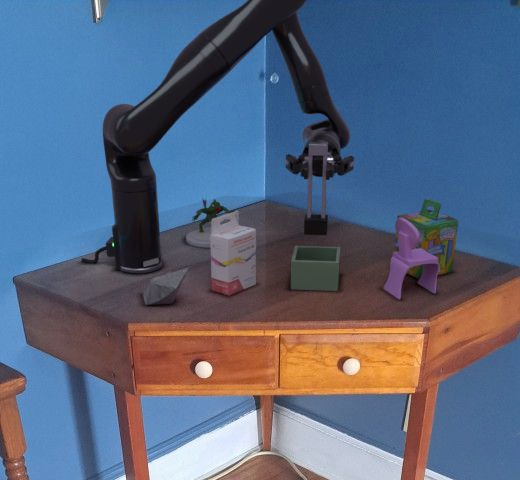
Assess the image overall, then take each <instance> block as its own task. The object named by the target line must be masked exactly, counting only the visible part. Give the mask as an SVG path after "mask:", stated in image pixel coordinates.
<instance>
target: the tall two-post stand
mask: <svg viewBox="0 0 520 480" xmlns="http://www.w3.org/2000/svg"><path fill="white" fill-rule="evenodd" d="M327 153H328V142H310V143H309V158H308V179H307V204H306V205H307V207H306V212H307V213H306V214H304V219H303V235H304V236H327V235H328V229H329V215H328V214H326V208H327V207H326V205H327V182H328V180H326V166H327ZM313 155H315V156H323V177H321V178H322V180H321V182H322V184H321V210H320V211H321V212H320V213H321V214H312V213H313V212H312V211H313V210H312V207H313V175H312V174H313Z"/></svg>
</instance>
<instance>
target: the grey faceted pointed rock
mask: <svg viewBox="0 0 520 480" xmlns="http://www.w3.org/2000/svg"><path fill="white" fill-rule="evenodd" d="M189 269H190V267H186V268H181V269H179V270H176V271H173V270H169V271H166V273H165V274H163V275H159V276H155V277H153V278H151V279H150V280H149V283H148V284H147V286H146V287H145V289H144V292H143V293H142V296H143V301H144V305H145V306H154V305H155V306H156V305H170V304H172V303H173V302H174V301H175V298H176V297H177V294H178V292H179V290H180V288H181V286H182V284H183V281H184V279H186V278H185V277H186V275H187V273H188V272H189Z"/></svg>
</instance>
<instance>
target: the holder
mask: <svg viewBox="0 0 520 480" xmlns="http://www.w3.org/2000/svg"><path fill="white" fill-rule="evenodd" d="M341 251H342V247H341V246H319V245H318V246H317V245H316V246H315V245H314V246H313V245H295V246H294V248H293V253H292V256H291V259H290V289H291V290H298V291H299V290H301V291H325V292H338V291H339V284H340V271H341Z"/></svg>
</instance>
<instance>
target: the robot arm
mask: <svg viewBox="0 0 520 480" xmlns="http://www.w3.org/2000/svg"><path fill="white" fill-rule="evenodd" d="M307 1H308V0H247V1H245V2H244V3H242V5H240V6H239V7H237V8H236V9H234V10H232V11H230V12H229V13H227V14H226V15H224V16H222V17H221V18H219V19H218V20H216V21H215V22H213V23H212V24H210V25H209V26H207V27H206V28H204V29H203V30H202V31H200V33H198V34H197V35H196V36H195V37H194V38H193V39H192V40H191V41H190V42H189V43H188V44H187V45H186V46H185V47H184V48H183V49H181V51H180V52H179V53H178V55H177V56H176V58H175V59H174V61H173V63H172V65H171V66H170V68H169V70H168V71H167V73H166V75H165V76H164V79H162V81H161V83H160V84H159V85H158V86H157V87H156V88H155V89H154V90H153V91H152V92H151V93H149V94H148V95H147V96H146V97H145V98H144V99H143V100H141V101H140V102H138V103H137V104H136V105H133V104H131V103H119V104H115V105H114V106H112V107H111V108H110V109H109V110H108V111H107V112H106V114H105V116H104V118H103V121H102V141H103V150H104V155H105V156H104V158H105V165H106V166H105V167H106V170H107V174H108V177H109V179H110V187H111V199H112V206H113V207H112V209H113V220H114V224H113V225H112V227H111V232H112V236H110V238H109V239H108V240H107V241H106V242H105V246H102V247H100V248H98V249H97V250H96V251H95V252H94V259H89V258H85V257H81V262H82V263H86V264H91V265H92V264H96V263H97V262H99V259H100V254H101V253H102V252H105V251H106V257H107V258H114V264H115V270H116V271H121V272H124V273H126V274H127V273H128V274H147V273H152V272H155V271H158V270H160V269H161V268H162V267H163V258H162V245H161V231H160V217H159V216H160V214H159V200H158V188H157V187H158V185H157V184H158V183H157V175H156V172H155V170H154V167H153V165H152V163H151V159H150V152H151V151H152V150H153V149H154V148H155V147H156V146H157V145H158V143H160V142H161V140H162V139H163V138H164V137H165V135H166V134H167V133H168V132H169V131H170V130H171V128H173V126H174V125H175V124H176V123H177V122H178V121H179V119H180V118H181V117H182V116H183V115H184V114H185V113H186V112H188V111H189V110H190V109H191V108H192V107H193V106H194V105H196V104H197V103H198V102H199V101H200V100H201V99H202V98H203V97H205V95H206V94H207V93H208V92H209V91H211V90H212V89H213V88H215V86H217V84H219V83H220V82H221V81H222V80H223V79H224V78H225V77H226V76H227V75H228V74H229V73H231V71H233V69H234V68H235V67H236V66H237V65H238V64H239V63H240V62H241V61H242V60H243V59H244V58H245V57H247V55H248V54H249V53H250V52H252V50H253V49H254V48H255V47H256V46H257V45H258V44H259V43H260V42H261V41H262V40H264V39H265V37H266V36H267V35H268V34H269V33H270V32H271V33H272V34H273V37H274V39H275V42H276V43H277V45H278V48H279V50H280V53H281V55H282V58H283V60H284V64H285V65H286V68H287V71H288V74H289V78H290V81H291V83H292V84H291V85H292V87H293V89H294V90H293V91H294V93H295V97H296V99H297V103H298V107H299V109H300V111H301V113H302V114H304V115H322V116H325V117H326V118H327V119H323V120H319V121H316V122H314V123H310V124H308V125H307V126H305V127H304V128H303V129H302V131H301V143H302V146H303V150H302V153H301V154H299V156H298V157H297V156H296V155H292V154H290V153H288V154H286V155H285V169H286V170H288V171H289V172H290V173H292V175H298V174H300V177H301V178H303V180H308V158H309V143H310V142H328V153H327V166H326V180H327V181H330V180H331V178H332V179H333V178H334V176H335V174H337V176H340V177H342V176H345V175H346V174H348V173H350V172H352V171H353V170H354V166H355V156H353V155H348V156H344V157H343V158H342V155H341V150H342V149H345V148H347V147H348V145H350V140H351V132H350V131H351V130H350V128H349V126H348V124H347V122H346V121H345V120H344V118H343V116H342V115H341V113H340V112H339V110H338V108H337V106H336V105H335V103H334V100H333V99H332V95H331V92H330V89H329V86H328V83H327V79H326V75H325V73H324V70H323V67H322V64H321V62H320V60H319V58H318V56H317V55H316V53H315V52H314V50H313V48H312V46H311V44H310V43H309V41H308V39H307V37H306V35H305V32H304V30H303V29H302V26H301V23H300V20H299V16H298V11H299V10H300V9H302V8H303V7H304V5H305V4H306V2H307ZM313 176H314V177H317V178H323V156H315V155H313V174H312V177H313Z"/></svg>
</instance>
